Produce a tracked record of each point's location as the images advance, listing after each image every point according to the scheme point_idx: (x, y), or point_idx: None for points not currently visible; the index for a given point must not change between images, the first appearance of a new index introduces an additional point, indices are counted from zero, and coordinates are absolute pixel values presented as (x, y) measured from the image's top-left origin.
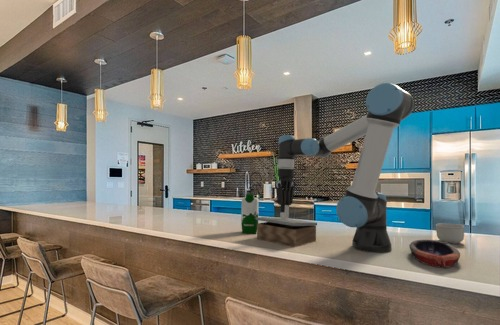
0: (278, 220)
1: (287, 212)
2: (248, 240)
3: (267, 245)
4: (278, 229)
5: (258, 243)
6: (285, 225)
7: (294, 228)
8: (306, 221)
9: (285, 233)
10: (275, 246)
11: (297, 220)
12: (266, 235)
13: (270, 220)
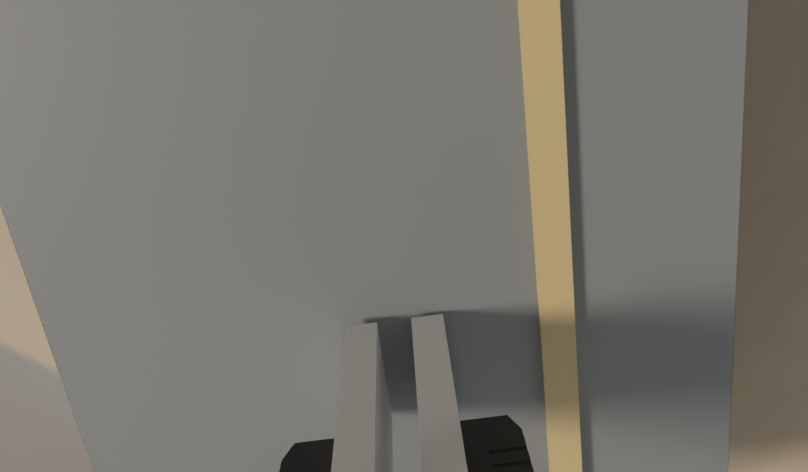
0: (699, 253)
1: (376, 402)
2: (746, 417)
3: (784, 118)
4: None
5: (779, 253)
6: None
7: None
8: (22, 117)
9: None
10: (755, 19)
11: (131, 280)
12: None
13: (725, 387)
